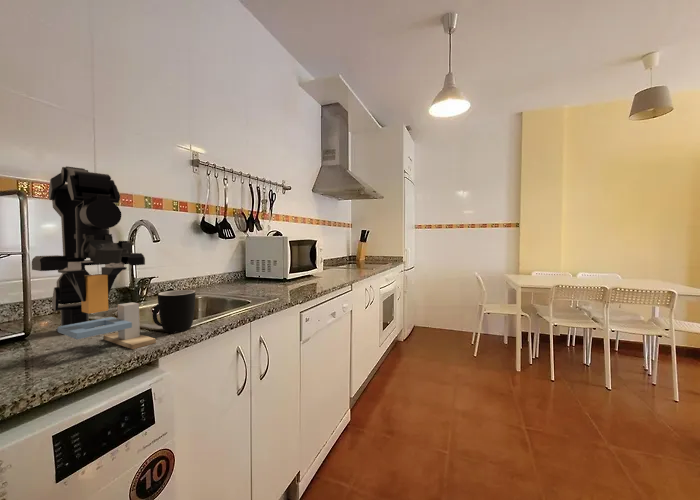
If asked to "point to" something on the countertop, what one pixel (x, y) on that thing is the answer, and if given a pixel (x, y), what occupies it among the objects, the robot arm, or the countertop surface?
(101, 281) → the orange square post
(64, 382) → the countertop surface
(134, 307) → the bracket
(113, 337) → the board
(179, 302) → the mug
